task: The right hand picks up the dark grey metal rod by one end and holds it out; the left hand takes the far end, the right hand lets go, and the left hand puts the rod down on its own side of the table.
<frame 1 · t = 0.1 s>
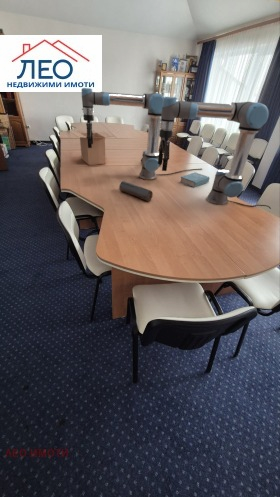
left hand: (90, 145, 173), 28 cm above the table, tool pointing down, fingers open, 13 cm apart
right hand: (161, 167, 139), 28 cm above the table, tool pointing down, fingers open, 13 cm apart
laser sight: (150, 164, 240), on the table
book: (194, 182, 202), on the table
rod: (135, 195, 170), on the table
box: (93, 161, 237), on the table
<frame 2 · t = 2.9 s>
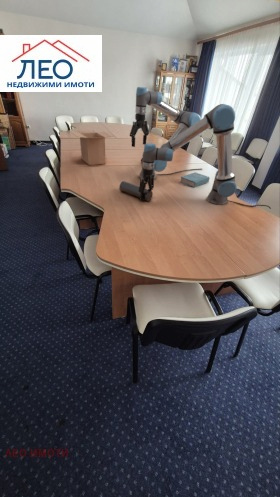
left hand: (138, 145, 171), 31 cm above the table, tool pointing down, fingers open, 13 cm apart
right hand: (145, 199, 165), 0 cm above the table, tool pointing down, fingers closed on rod, 8 cm apart
rod: (135, 195, 170), on the table, touching right hand
everything else where it was.
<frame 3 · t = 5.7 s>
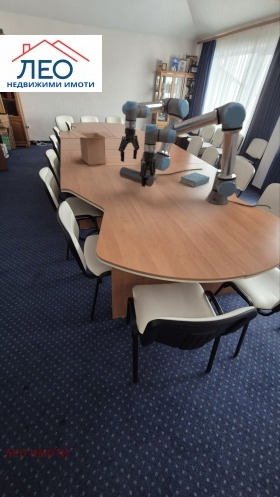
left hand: (128, 160, 164), 23 cm above the table, tool pointing down, fingers open, 13 cm apart
right hand: (146, 184, 158), 11 cm above the table, tool pointing down, fingers closed on rod, 8 cm apart
rod: (136, 181, 163), point 11 cm above the table, touching right hand
everything else where it was.
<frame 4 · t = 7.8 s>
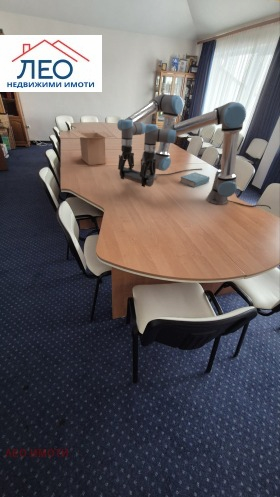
left hand: (126, 177, 168), 11 cm above the table, tool pointing down, fingers closed on rod, 8 cm apart
right hand: (146, 184, 158), 11 cm above the table, tool pointing down, fingers closed on rod, 8 cm apart
rod: (136, 181, 163), point 11 cm above the table, touching left hand, right hand
everything else where it was.
when the right hand's fingers open (11 cm above the table, at t = 8.6 s): rod stays where it is, held by the left hand.
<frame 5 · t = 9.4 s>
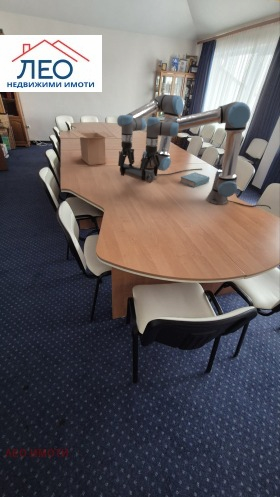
left hand: (126, 174, 166), 14 cm above the table, tool pointing down, fingers closed on rod, 8 cm apart
right hand: (149, 178, 155), 17 cm above the table, tool pointing down, fingers open, 13 cm apart
rod: (136, 178, 162), point 14 cm above the table, touching left hand
everything else where it was.
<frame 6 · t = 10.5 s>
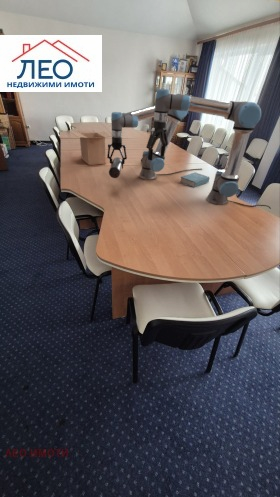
left hand: (117, 167, 177), 14 cm above the table, tool pointing down, fingers closed on rod, 8 cm apart
right hand: (156, 158, 144), 31 cm above the table, tool pointing down, fingers open, 13 cm apart
rod: (116, 172, 169), point 14 cm above the table, touching left hand
everything else where it was.
when the left hand's fingers open (2 cm above the table, at t = 13.6 s): rod drops 1 cm, on the table.
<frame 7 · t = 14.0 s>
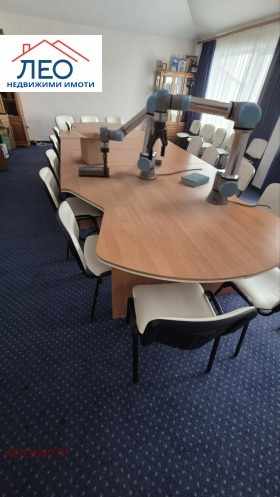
left hand: (105, 172, 200), 3 cm above the table, tool pointing down, fingers open, 12 cm apart
right hand: (156, 158, 144), 31 cm above the table, tool pointing down, fingers open, 13 cm apart
rod: (94, 175, 200), on the table
everything else where it was.
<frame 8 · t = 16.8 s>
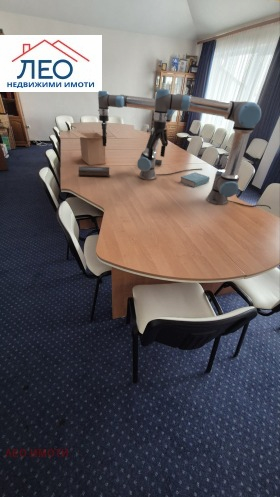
left hand: (104, 144, 185), 27 cm above the table, tool pointing down, fingers open, 13 cm apart
right hand: (156, 158, 144), 31 cm above the table, tool pointing down, fingers open, 13 cm apart
nothing on the table moved.
at the end: rod inside the target area (10.1 cm from its centre), on the table; the left hand is holding nothing; the right hand is holding nothing; rod at rest at the end (0.0 cm/s) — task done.
